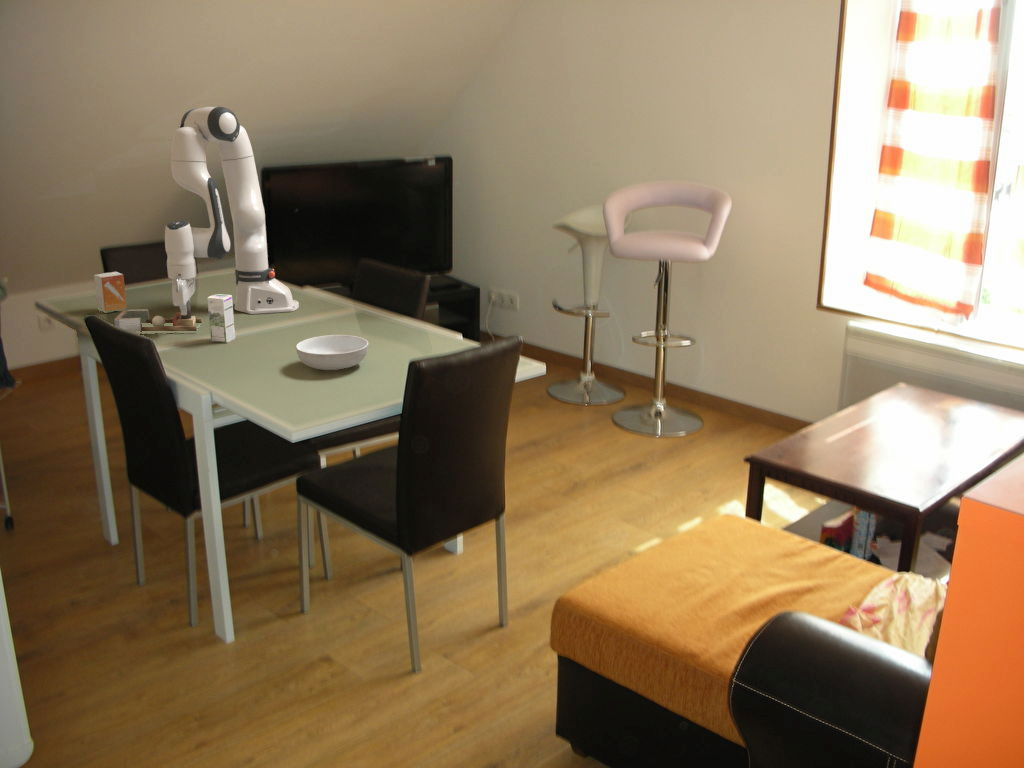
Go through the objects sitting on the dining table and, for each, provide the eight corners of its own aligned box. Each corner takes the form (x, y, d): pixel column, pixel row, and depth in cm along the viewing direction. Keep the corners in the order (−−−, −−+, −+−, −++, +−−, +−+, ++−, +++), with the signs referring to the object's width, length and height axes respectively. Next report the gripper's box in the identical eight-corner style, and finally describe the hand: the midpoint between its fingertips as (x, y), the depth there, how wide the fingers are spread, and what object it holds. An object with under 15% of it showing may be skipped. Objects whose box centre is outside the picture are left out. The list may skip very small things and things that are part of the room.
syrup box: (236, 338, 334) (232, 294, 330) (226, 343, 329) (222, 298, 324) (220, 337, 336) (216, 292, 331) (210, 341, 330) (206, 297, 326)
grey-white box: (149, 323, 351) (148, 309, 349) (141, 334, 338) (139, 319, 337) (125, 324, 350) (123, 309, 348) (115, 334, 338) (114, 319, 336)
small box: (105, 314, 362) (100, 277, 358) (97, 310, 367) (93, 274, 363) (127, 310, 368) (123, 274, 364) (119, 307, 372) (115, 271, 368)
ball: (166, 326, 347) (165, 314, 346) (163, 329, 343) (162, 317, 342) (153, 326, 347) (152, 314, 345) (151, 329, 343) (150, 317, 342)
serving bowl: (336, 352, 321) (335, 330, 319) (383, 365, 309) (383, 342, 306) (282, 367, 306) (280, 344, 304) (330, 381, 293) (328, 358, 291)
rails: (202, 322, 352) (201, 318, 351) (196, 331, 341) (196, 326, 341) (146, 323, 350) (146, 319, 349) (139, 332, 339) (139, 327, 339)
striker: (196, 323, 350) (194, 297, 347) (192, 329, 343) (190, 302, 340) (177, 324, 349) (175, 297, 346) (173, 330, 342) (170, 303, 339)
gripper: (186, 278, 331) (189, 320, 335) (197, 265, 350) (200, 305, 354) (165, 278, 330) (169, 321, 334) (177, 265, 349) (181, 305, 354)
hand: (185, 313), depth 344 cm, fingers closed on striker, 3 cm apart
